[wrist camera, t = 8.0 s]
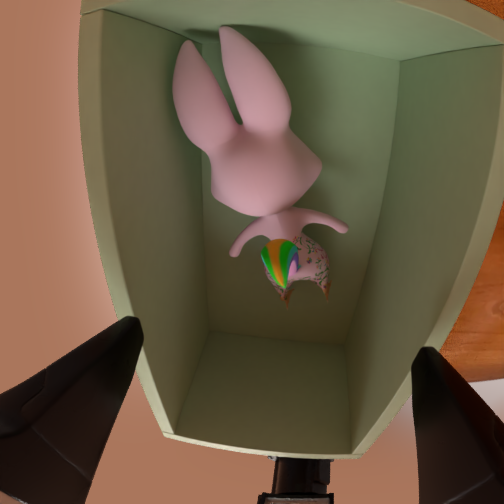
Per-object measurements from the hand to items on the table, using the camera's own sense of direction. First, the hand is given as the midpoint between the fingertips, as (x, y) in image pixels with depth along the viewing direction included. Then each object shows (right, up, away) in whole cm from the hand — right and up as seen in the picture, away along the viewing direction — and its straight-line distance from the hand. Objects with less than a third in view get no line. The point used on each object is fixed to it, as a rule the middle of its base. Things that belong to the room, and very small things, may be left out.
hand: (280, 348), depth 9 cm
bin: (+1, +5, +9) cm, 10 cm away
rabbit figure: (0, +7, +6) cm, 9 cm away
